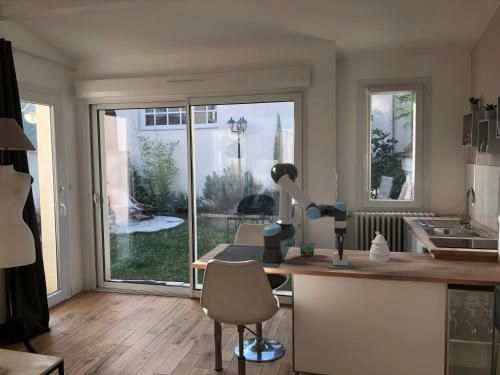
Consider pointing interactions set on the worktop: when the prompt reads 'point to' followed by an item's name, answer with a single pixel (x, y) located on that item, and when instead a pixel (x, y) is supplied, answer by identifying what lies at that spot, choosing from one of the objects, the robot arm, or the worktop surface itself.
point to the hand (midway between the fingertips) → (340, 263)
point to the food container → (307, 249)
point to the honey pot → (379, 249)
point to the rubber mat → (340, 266)
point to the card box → (335, 258)
